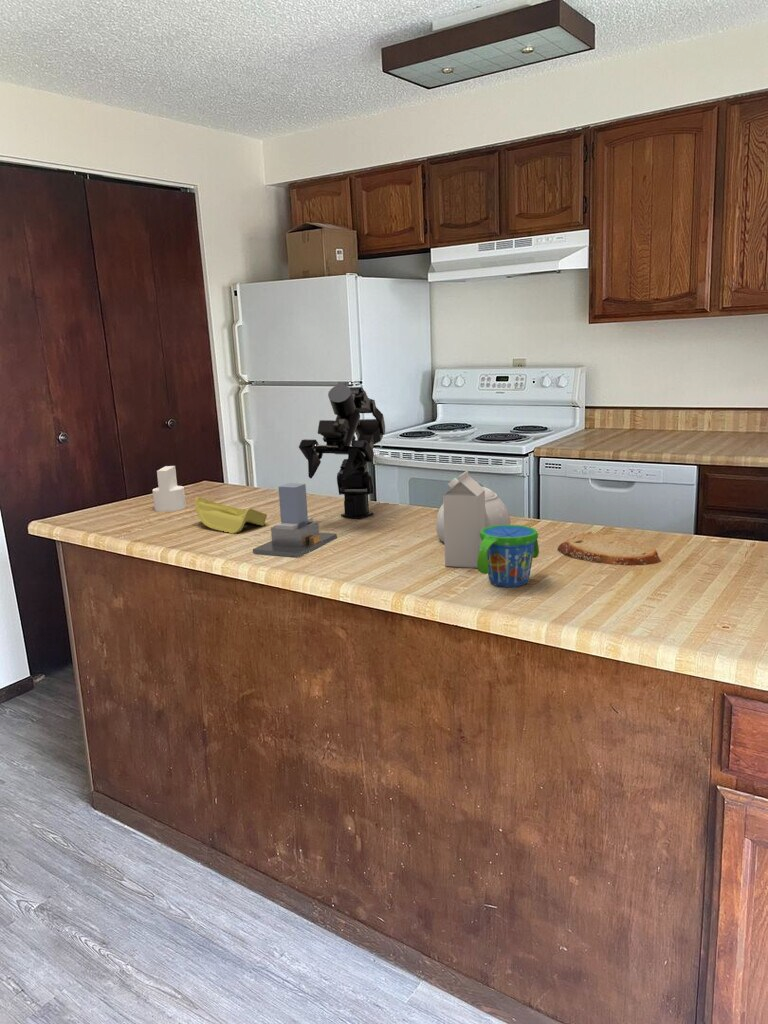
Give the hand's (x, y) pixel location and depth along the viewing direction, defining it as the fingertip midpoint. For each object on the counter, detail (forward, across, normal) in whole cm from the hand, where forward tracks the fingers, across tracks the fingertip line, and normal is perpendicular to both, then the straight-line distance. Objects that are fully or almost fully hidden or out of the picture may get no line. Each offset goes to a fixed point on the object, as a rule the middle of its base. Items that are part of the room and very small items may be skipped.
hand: (326, 478), depth 190 cm
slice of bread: (+11, +67, +9) cm, 69 cm away
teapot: (+8, +36, +12) cm, 39 cm away
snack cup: (+28, +53, -9) cm, 61 cm away
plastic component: (+10, -30, +10) cm, 33 cm away
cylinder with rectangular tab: (0, -61, +19) cm, 64 cm away
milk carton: (+21, +41, -2) cm, 46 cm away
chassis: (+19, -2, 0) cm, 19 cm away
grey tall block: (+18, -1, -1) cm, 18 cm away
